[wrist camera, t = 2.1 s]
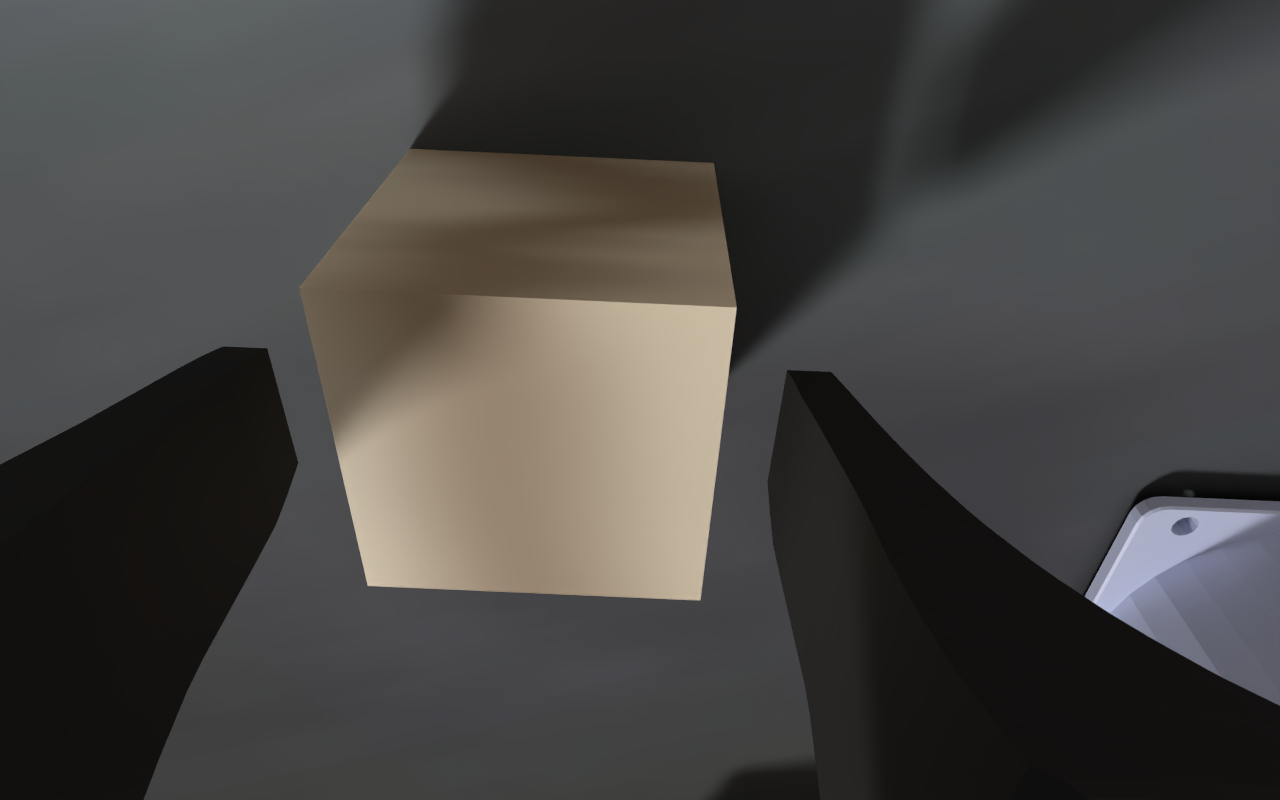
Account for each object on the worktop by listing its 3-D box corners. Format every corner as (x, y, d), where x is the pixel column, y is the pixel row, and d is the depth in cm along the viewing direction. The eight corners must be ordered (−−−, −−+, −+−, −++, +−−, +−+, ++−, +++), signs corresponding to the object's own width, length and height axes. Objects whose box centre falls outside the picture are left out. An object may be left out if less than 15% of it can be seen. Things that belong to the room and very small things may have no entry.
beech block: (713, 161, 13) (737, 307, 9) (690, 406, 16) (700, 600, 12) (410, 147, 13) (299, 287, 9) (442, 395, 16) (367, 585, 12)
